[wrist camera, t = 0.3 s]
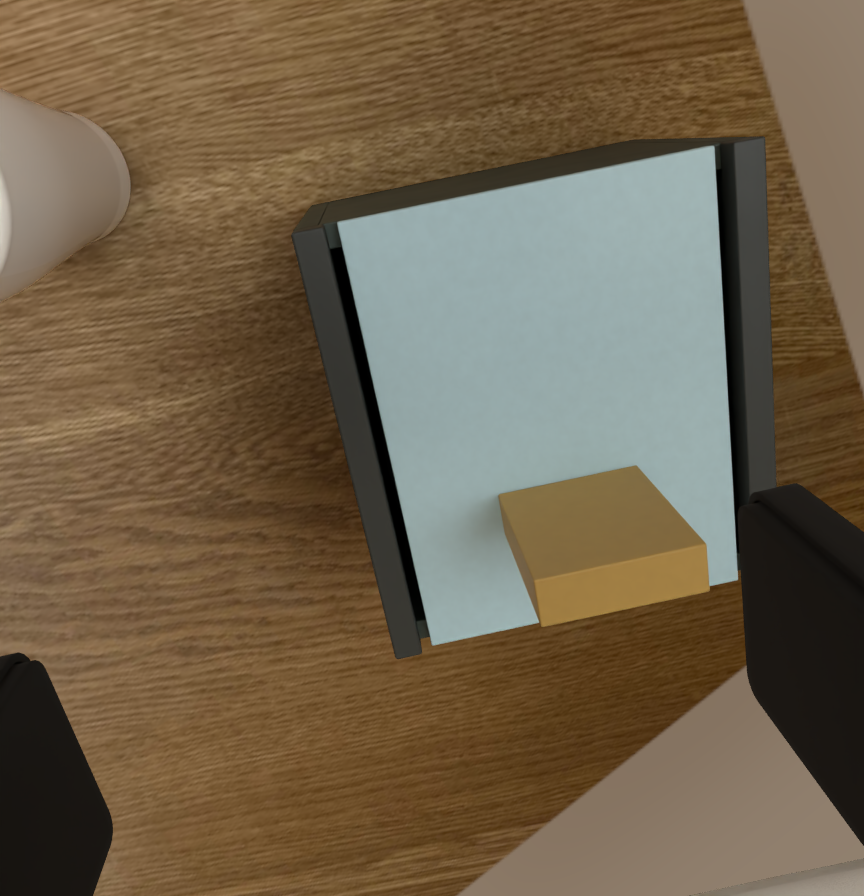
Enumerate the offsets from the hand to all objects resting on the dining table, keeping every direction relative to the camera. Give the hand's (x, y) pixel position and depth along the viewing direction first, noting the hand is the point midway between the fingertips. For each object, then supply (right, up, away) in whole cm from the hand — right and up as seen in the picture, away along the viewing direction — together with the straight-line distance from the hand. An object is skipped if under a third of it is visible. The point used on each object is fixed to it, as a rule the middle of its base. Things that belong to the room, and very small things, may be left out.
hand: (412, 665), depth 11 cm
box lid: (+5, +4, +17) cm, 18 cm away
